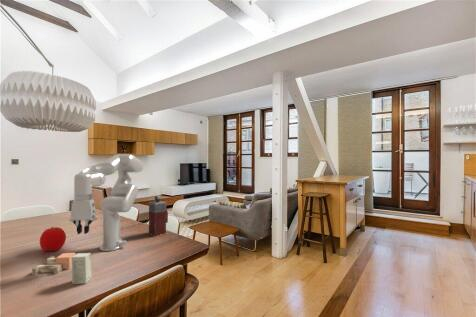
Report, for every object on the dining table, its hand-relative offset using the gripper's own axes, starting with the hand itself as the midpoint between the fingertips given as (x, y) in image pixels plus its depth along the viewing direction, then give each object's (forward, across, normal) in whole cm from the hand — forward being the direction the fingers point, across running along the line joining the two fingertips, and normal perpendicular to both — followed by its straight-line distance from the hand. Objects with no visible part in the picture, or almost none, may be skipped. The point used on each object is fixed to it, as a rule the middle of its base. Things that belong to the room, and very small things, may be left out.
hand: (83, 232), depth 121 cm
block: (+17, +8, 0) cm, 19 cm away
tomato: (+17, +28, -24) cm, 41 cm away
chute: (+17, +14, 0) cm, 22 cm away
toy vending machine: (+17, -29, -48) cm, 59 cm away
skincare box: (+17, -7, +16) cm, 25 cm away
